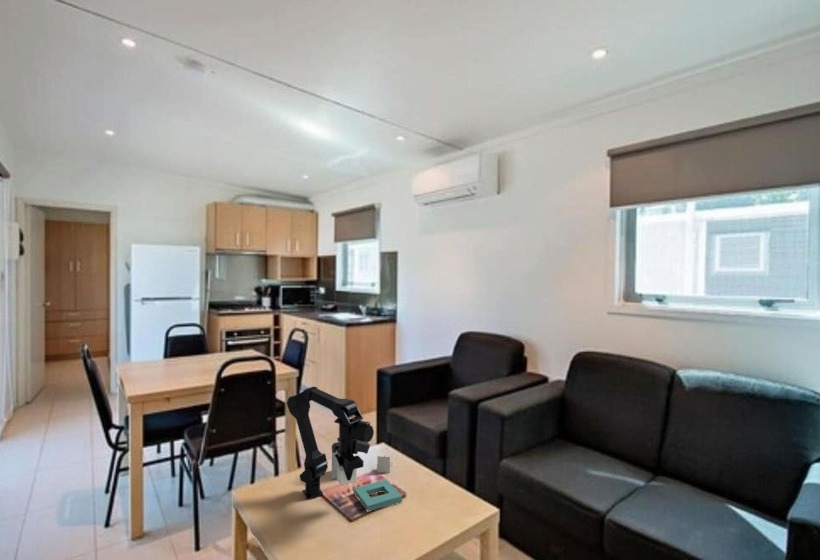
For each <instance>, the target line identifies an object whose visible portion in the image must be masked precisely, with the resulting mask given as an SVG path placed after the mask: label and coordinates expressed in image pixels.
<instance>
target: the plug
mask: <svg viewBox="0 0 820 560" xmlns="http://www.w3.org/2000/svg"><path fill="white" fill-rule="evenodd" d="M357 470H358V468H357V469H354V470H353V474H352V477H351V480H349V481H348V480H347V478H346V475H345V472H344V470H343V467H342V466H340V467H337V479H336V480H337V482H338V484H339V485H340V486H344V485H347V484H351V483H356V482H357V480H358V479H357V476H358V474H357Z"/></svg>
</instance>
